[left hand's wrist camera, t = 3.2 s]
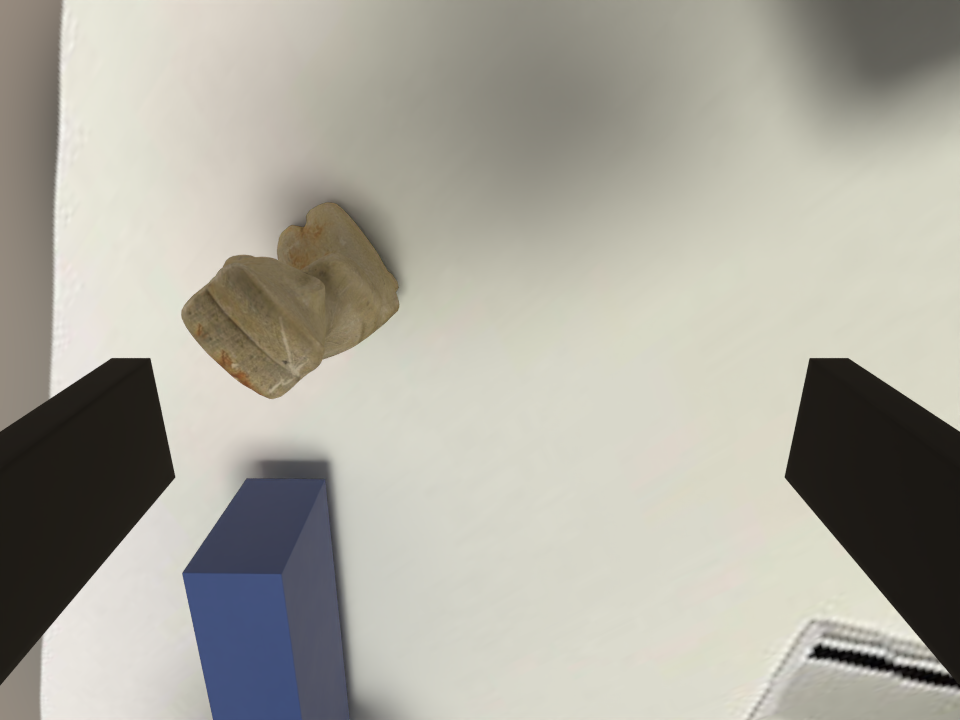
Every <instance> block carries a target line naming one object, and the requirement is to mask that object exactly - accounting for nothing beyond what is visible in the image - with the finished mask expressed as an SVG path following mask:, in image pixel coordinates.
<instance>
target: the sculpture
mask: <svg viewBox="0 0 960 720" xmlns="http://www.w3.org/2000/svg"><path fill="white" fill-rule="evenodd" d="M306 221H307V223H306V225H305V227H300V226H294V225H291V226H289V227H288V228H287V229H286V230H284V231H283V232H282V233H281V235H280V237H279V242H278V248H277V255H278V260H276V259H273V258H269V257H253V256H250V255H238V256H232V257H230V258H229V259H228V260H226V262H225V264H224V266H223V268H222V269H220V270H219V271H218V273H217V274H216V276H215V277H214V278H213V279H212V280H211V281H210V282H209V283H208V284H207V285H206V286H204V287H203V288H202V289H201V290H199V291H198V292H197V293H196V294H194V295H193V296H192V297H191V298H190V299H189V300H188V301H187V303H186V304H185V305H184V307H183V309H182V312H181V316H182V320H183V322H184V324H185V326H186V328H187V329H188V330H189V332H190V333H191V335H192V336H193V337H194V338H195V340H196V341H197V342H198V343H199V344H200V346H201V347H202V348H203V349H204V350H205V351H206V352H207V353H208V354H209V355H210V356H211V357H212V358H213V359H214V360H215V361H216V362H217V363H218V364H219V365H220V366H222V367H223V368H224V369H225V370H226V371H227V372H228V373H229V374H230V375H231V376H233V377H234V378H235V379H236V380H237V381H239V382H240V383H242V384H243V385H245V386H246V387H248V388H250V389H252V390H253V391H255V392H256V393H258V394H260V395H262V396H264V397H267V398H269V399H275V398H278V397H281V396H282V395H284V394H285V393H286V392H288V391H289V390H290V389H291V388H292V387H293V386H294V385H295V384H296V383H297V382H298V381H300V380H301V379H302V378H303V377H304V376H306V375H307V374H308V373H309V372H311V371H313V370H314V369H316V368H317V367H318V366H319V365H320V363H321V361H322V359H325V358H328V357H331V356H334V355H337V354H339V353H342V352H344V351H346V350H348V349H350V348H352V347H354V346H356V345H357V344H359V343H360V342H361V341H363V340H364V339H366V338H367V337H369V336H370V335H371V334H372V333H374V332H375V331H376V330H377V329H378V328H380V327H381V326H382V325H383V324H384V323H386V322H387V321H388V320H389V319H390V318H391V317H392V316H393V315H394V314H395V313H396V312H397V311H398V309H399V301H398V297H397V294H396V291H397V289H398V283H397V281H396V279H395V278H394V276H393V275H392V274H391V273H390V272H388V271H387V269H386V267H385V266H384V264H383V262H382V260H381V258H380V257H379V255H378V253H377V252H376V250H375V249H374V247H373V246H372V245H371V243H370V242H369V241H368V239H367V238H366V236H365V235H364V234H363V232H362V231H361V230H360V228H359V227H358V226H357V225H356V223H355V222H354V221H353V220H352V218H351V217H350V216H349V215H348V214H347V213H346V212H345V211H344V210H343V209H342V208H341V207H340V206H338V205H337V204H335V203H328V202H327V203H323V204H320V205H318V206H317V207H315V208H313V209H311V210H310V211H309V213H308V214H307V215H306Z"/></svg>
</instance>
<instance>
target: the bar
mask: <svg viewBox="0 0 960 720" xmlns="http://www.w3.org/2000/svg"><path fill="white" fill-rule="evenodd" d="M182 574H183V579H184V584H185V589H186V593H187V598H188V603H189V608H190V612H191V617H192V622H193V627H194V631H195V636H196V641H197V645H198V650H199V655H200V660H201V664H202V669H203V674H204V679H205V683H206V688H207V693H208V698H209V702H210V707H211V712H212V717H213V720H350V718H349V708H348V698H347V688H346V679H345V669H344V659H343V649H342V639H341V629H340V620H339V610H338V600H337V590H336V580H335V571H334V561H333V551H332V541H331V531H330V521H329V512H328V502H327V492H326V482H325V479H259V478H247V479H246V480H245V482H244V483H243V485H242V486H241V488H240V489H239V491H238V492H237V493H236V495H235V496H234V498H233V499H232V501H231V502H230V504H229V505H228V507H227V508H226V510H225V511H224V513H223V514H222V515H221V517H220V518H219V520H218V521H217V523H216V524H215V526H214V527H213V529H212V530H211V532H210V533H209V535H208V536H207V538H206V539H205V540H204V542H203V543H202V545H201V546H200V548H199V549H198V551H197V552H196V554H195V555H194V557H193V558H192V560H191V561H190V562H189V564H188V565H187V567H186V568H185V570H184V571H183V573H182Z"/></svg>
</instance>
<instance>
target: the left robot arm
mask: <svg viewBox="0 0 960 720" xmlns="http://www.w3.org/2000/svg"><path fill="white" fill-rule="evenodd" d="M174 478H175V473H174V469H173V464H172V459H171V454H170V450H169V445H168V440H167V435H166V431H165V426H164V421H163V416H162V411H161V407H160V402H159V397H158V392H157V388H156V383H155V378H154V373H153V369H152V364H151V359H150V358H111V359H110V360H108V361H107V362H105V363H104V364H102V365H101V366H99V367H98V368H96V369H95V370H93V371H92V372H90V373H89V374H87V375H86V376H84V377H83V378H81V379H80V380H78V381H77V382H75V383H73V384H72V385H70V386H69V387H67V388H66V389H64V390H63V391H61V392H60V393H58V394H57V395H55V396H54V397H52V398H51V399H49V400H48V401H46V402H45V403H43V404H42V405H40V406H39V407H37V408H36V409H34V410H33V411H31V412H30V413H28V414H27V415H25V416H23V417H22V418H20V419H19V420H17V421H16V422H14V423H13V424H11V425H10V426H8V427H7V428H5V429H4V430H2V431H1V432H0V685H1V684H2V683H3V682H4V680H5V679H6V678H7V677H8V676H9V674H10V673H11V672H12V671H13V670H14V668H15V667H16V666H17V665H18V664H19V662H20V661H21V660H22V659H23V658H24V657H25V655H26V654H27V653H28V652H29V651H30V649H31V648H32V647H33V646H34V645H35V644H36V642H37V641H38V640H39V639H40V638H41V636H42V635H43V634H44V633H45V632H46V630H47V629H48V628H49V627H50V626H51V624H52V623H53V622H54V621H55V620H56V619H57V617H58V616H59V615H60V614H61V613H62V611H63V610H64V609H65V608H66V607H67V605H68V604H69V603H70V602H71V601H72V600H73V598H74V597H75V596H76V595H77V594H78V592H79V591H80V590H81V589H82V588H83V586H84V585H85V584H86V583H87V582H88V581H89V579H90V578H91V577H92V576H93V575H94V573H95V572H96V571H97V570H98V569H99V567H100V566H101V565H102V564H103V563H104V562H105V560H106V559H107V558H108V557H109V556H110V554H111V553H112V552H113V551H114V550H115V548H116V547H117V546H118V545H119V544H120V543H121V541H122V540H123V539H124V538H125V537H126V535H127V534H128V533H129V532H130V531H131V529H132V528H133V527H134V526H135V525H136V524H137V522H138V521H139V520H140V519H141V518H142V516H143V515H144V514H145V513H146V512H147V510H148V509H149V508H150V507H151V506H152V505H153V503H154V502H155V501H156V500H157V499H158V497H159V496H160V495H161V494H162V493H163V491H164V490H165V489H166V488H167V487H168V486H169V484H170V483H171V482H172V481H173V480H174ZM785 478H786V480H787V481H788V482H789V483H790V484H791V486H792V487H793V488H794V489H795V490H796V491H797V493H798V494H799V495H800V496H801V497H802V499H803V500H804V501H805V502H806V503H807V505H808V506H809V507H810V508H811V509H812V510H813V512H814V513H815V514H816V515H817V516H818V518H819V519H820V520H821V521H822V522H823V524H824V525H825V526H826V527H827V528H828V529H829V531H830V532H831V533H832V534H833V535H834V537H835V538H836V539H837V540H838V541H839V543H840V544H841V545H842V546H843V547H844V548H845V550H846V551H847V552H848V553H849V554H850V556H851V557H852V558H853V559H854V560H855V562H856V563H857V564H858V565H859V566H860V567H861V569H862V570H863V571H864V572H865V573H866V575H867V576H868V577H869V578H870V579H871V581H872V582H873V583H874V584H875V585H876V586H877V588H878V589H879V590H880V591H881V592H882V594H883V595H884V596H885V597H886V598H887V600H888V601H889V602H890V603H891V604H892V605H893V607H894V608H895V609H896V610H897V611H898V613H899V614H900V615H901V616H902V617H903V619H904V620H905V621H906V622H907V623H908V625H909V626H910V627H911V628H912V629H913V630H914V632H915V633H916V634H917V635H918V636H919V638H920V639H921V640H922V641H923V642H924V644H925V645H926V646H927V647H928V648H929V649H930V651H931V652H932V653H933V654H934V655H935V657H936V658H937V659H938V660H939V661H940V663H941V664H942V665H943V666H944V667H945V668H946V670H947V671H948V672H949V673H950V674H951V676H952V677H953V678H954V679H955V680H956V682H957V683H958V684H959V685H960V432H959V431H958V430H956V429H955V428H953V427H952V426H950V425H949V424H947V423H946V422H944V421H943V420H941V419H940V418H938V417H937V416H935V415H934V414H932V413H931V412H929V411H927V410H926V409H924V408H923V407H921V406H920V405H918V404H917V403H915V402H914V401H912V400H911V399H909V398H908V397H906V396H905V395H903V394H902V393H900V392H899V391H897V390H896V389H894V388H893V387H891V386H890V385H888V384H887V383H885V382H883V381H882V380H880V379H879V378H877V377H876V376H874V375H873V374H871V373H870V372H868V371H867V370H865V369H864V368H862V367H861V366H859V365H858V364H856V363H855V362H853V361H852V360H850V359H849V358H810V359H809V364H808V369H807V373H806V378H805V383H804V388H803V392H802V397H801V402H800V407H799V411H798V416H797V421H796V426H795V431H794V435H793V440H792V445H791V450H790V454H789V459H788V464H787V469H786V473H785Z"/></svg>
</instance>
